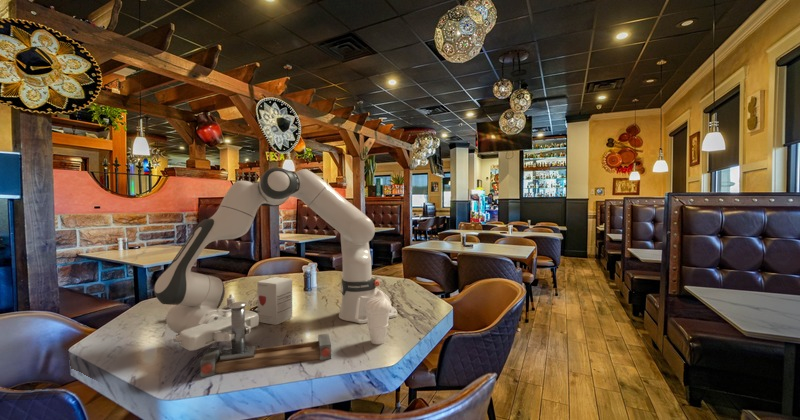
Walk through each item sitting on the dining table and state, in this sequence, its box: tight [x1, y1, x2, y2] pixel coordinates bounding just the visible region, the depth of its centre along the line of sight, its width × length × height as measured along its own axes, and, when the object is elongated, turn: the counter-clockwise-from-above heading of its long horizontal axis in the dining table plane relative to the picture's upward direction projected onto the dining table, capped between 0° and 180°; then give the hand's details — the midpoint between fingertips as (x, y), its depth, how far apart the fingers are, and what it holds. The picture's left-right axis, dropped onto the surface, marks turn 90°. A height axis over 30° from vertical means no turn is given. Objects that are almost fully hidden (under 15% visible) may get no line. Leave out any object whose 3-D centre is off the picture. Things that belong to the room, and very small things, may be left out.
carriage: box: [220, 301, 257, 362], centre depth 88 cm, size 8×4×15 cm, turn 107°
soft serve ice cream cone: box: [364, 290, 392, 345], centre depth 102 cm, size 8×8×16 cm
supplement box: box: [257, 276, 293, 326], centre depth 122 cm, size 9×9×15 cm
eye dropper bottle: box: [222, 293, 236, 308], centre depth 113 cm, size 4×6×12 cm
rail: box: [199, 333, 332, 378], centre depth 90 cm, size 32×8×4 cm, turn 107°
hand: (240, 333), depth 87 cm, fingers open, 3 cm apart
